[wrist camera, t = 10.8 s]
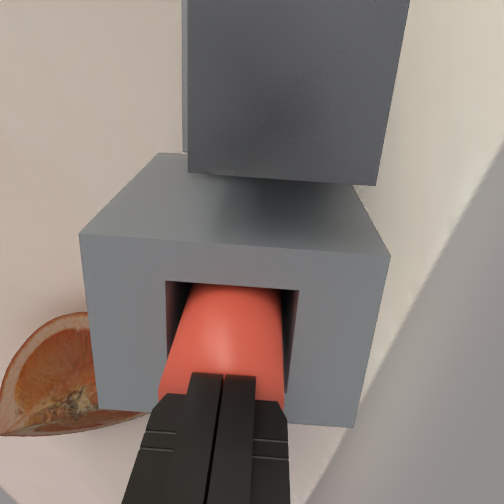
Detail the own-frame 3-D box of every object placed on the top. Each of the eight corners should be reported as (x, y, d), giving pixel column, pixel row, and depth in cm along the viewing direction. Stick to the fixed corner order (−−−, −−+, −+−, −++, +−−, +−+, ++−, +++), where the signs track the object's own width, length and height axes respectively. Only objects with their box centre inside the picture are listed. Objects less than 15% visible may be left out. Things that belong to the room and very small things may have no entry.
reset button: (200, 296, 18) (159, 441, 11) (200, 226, 16) (156, 344, 10) (276, 302, 18) (278, 450, 11) (283, 231, 16) (290, 354, 10)
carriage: (198, 131, 19) (134, 212, 10) (199, -38, 16) (114, -129, 7) (351, 142, 19) (421, 233, 10) (378, -27, 16) (503, -103, 7)
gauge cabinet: (162, 273, 22) (98, 408, 14) (158, 152, 20) (78, 233, 11) (323, 285, 22) (353, 428, 14) (341, 165, 19) (390, 255, 11)
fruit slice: (151, 275, 22) (121, 335, 18) (204, 375, 25) (189, 449, 20) (12, 321, 24) (-49, 386, 19) (75, 410, 27) (35, 486, 22)
